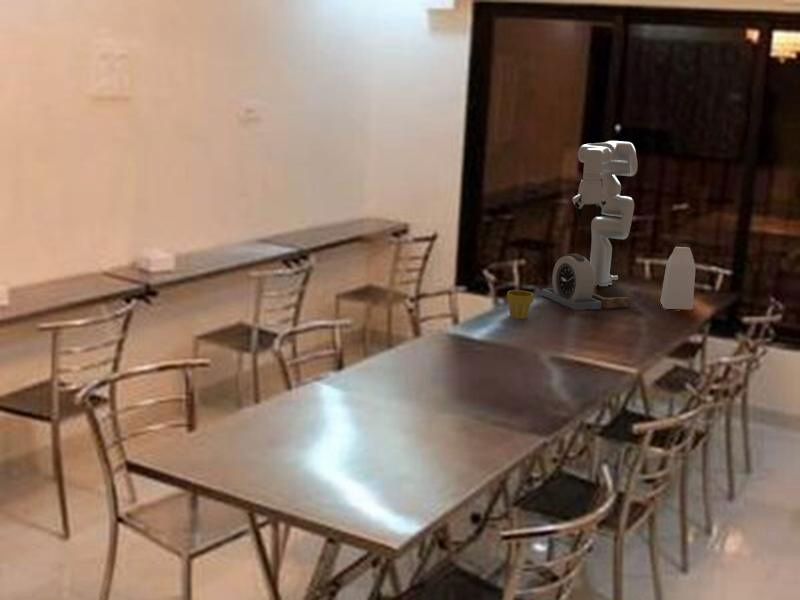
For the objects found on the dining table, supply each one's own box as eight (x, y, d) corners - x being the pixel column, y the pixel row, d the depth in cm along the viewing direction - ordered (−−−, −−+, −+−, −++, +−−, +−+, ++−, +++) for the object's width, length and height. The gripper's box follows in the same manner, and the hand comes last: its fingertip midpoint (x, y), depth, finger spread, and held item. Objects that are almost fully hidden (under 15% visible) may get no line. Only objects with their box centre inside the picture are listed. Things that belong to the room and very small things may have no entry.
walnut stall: (594, 293, 475) (595, 285, 474) (627, 306, 452) (628, 297, 451) (571, 294, 470) (572, 286, 469) (603, 308, 448) (603, 298, 447)
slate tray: (567, 294, 470) (567, 287, 470) (601, 308, 446) (601, 301, 445) (541, 295, 465) (542, 288, 464) (574, 310, 441) (575, 303, 440)
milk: (688, 305, 462) (695, 246, 456) (692, 311, 451) (699, 250, 445) (659, 303, 463) (666, 244, 457) (663, 309, 452) (670, 248, 446)
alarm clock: (550, 294, 463) (554, 249, 459) (565, 293, 467) (569, 249, 462) (577, 305, 445) (582, 259, 440) (592, 305, 448) (597, 258, 443)
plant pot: (528, 321, 418) (530, 297, 416) (502, 318, 421) (504, 293, 419) (534, 315, 428) (536, 292, 426) (508, 312, 431) (510, 288, 429)
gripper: (604, 175, 462) (600, 214, 467) (569, 176, 456) (566, 216, 460) (614, 178, 456) (610, 217, 460) (579, 179, 449) (576, 219, 454)
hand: (588, 216), depth 460 cm, fingers open, 9 cm apart
